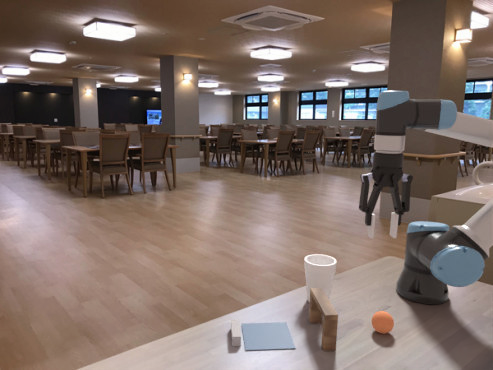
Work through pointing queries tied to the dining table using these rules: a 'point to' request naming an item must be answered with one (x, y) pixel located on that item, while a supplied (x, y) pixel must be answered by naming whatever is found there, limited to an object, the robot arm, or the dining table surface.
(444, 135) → the robot arm
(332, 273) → the foam cup
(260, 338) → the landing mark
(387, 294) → the dining table surface
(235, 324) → the beige rectangular bar
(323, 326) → the bridge
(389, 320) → the ball
